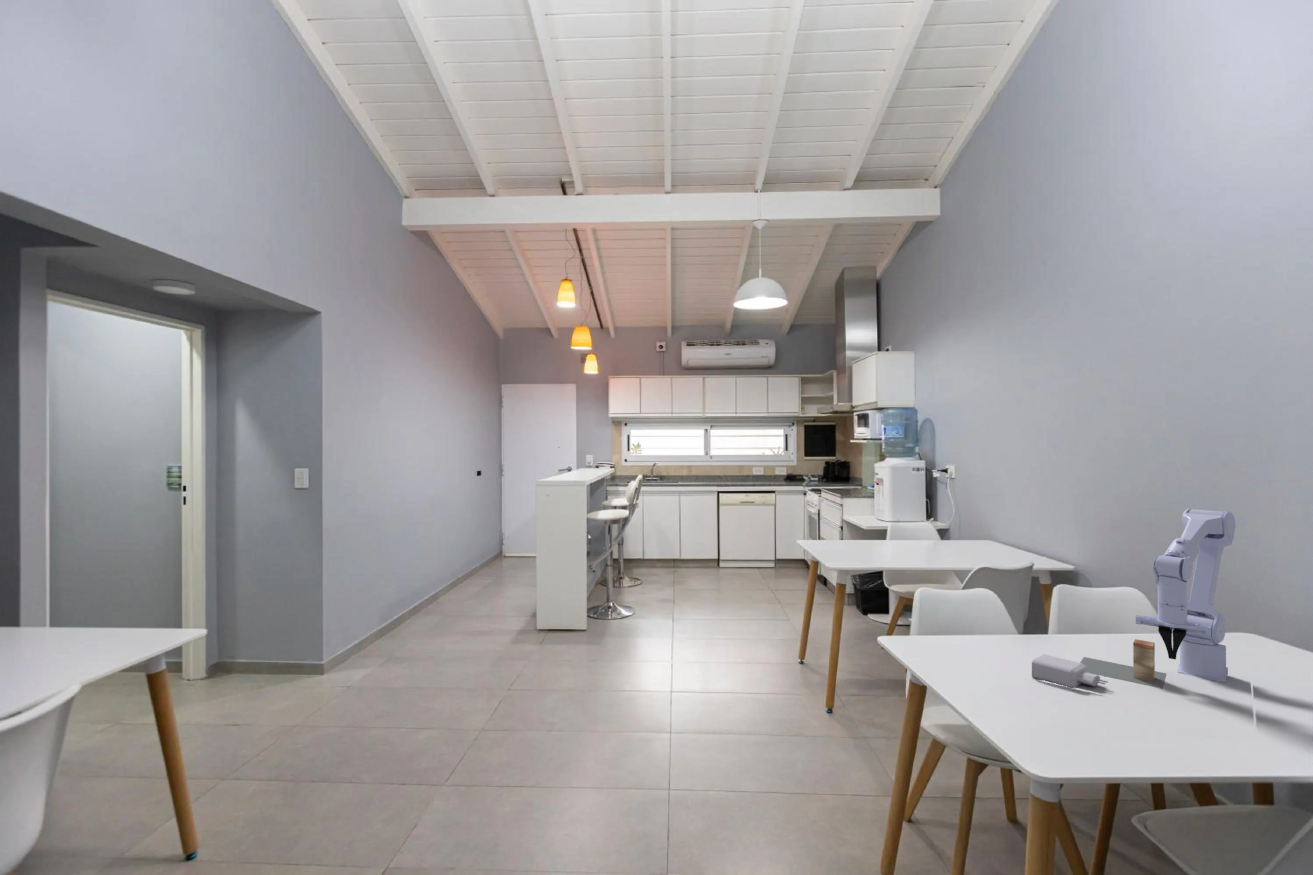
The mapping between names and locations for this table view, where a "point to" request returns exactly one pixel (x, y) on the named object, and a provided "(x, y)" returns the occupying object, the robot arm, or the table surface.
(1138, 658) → the maple block
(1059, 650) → the table surface
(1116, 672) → the rubber mat
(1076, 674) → the charger
